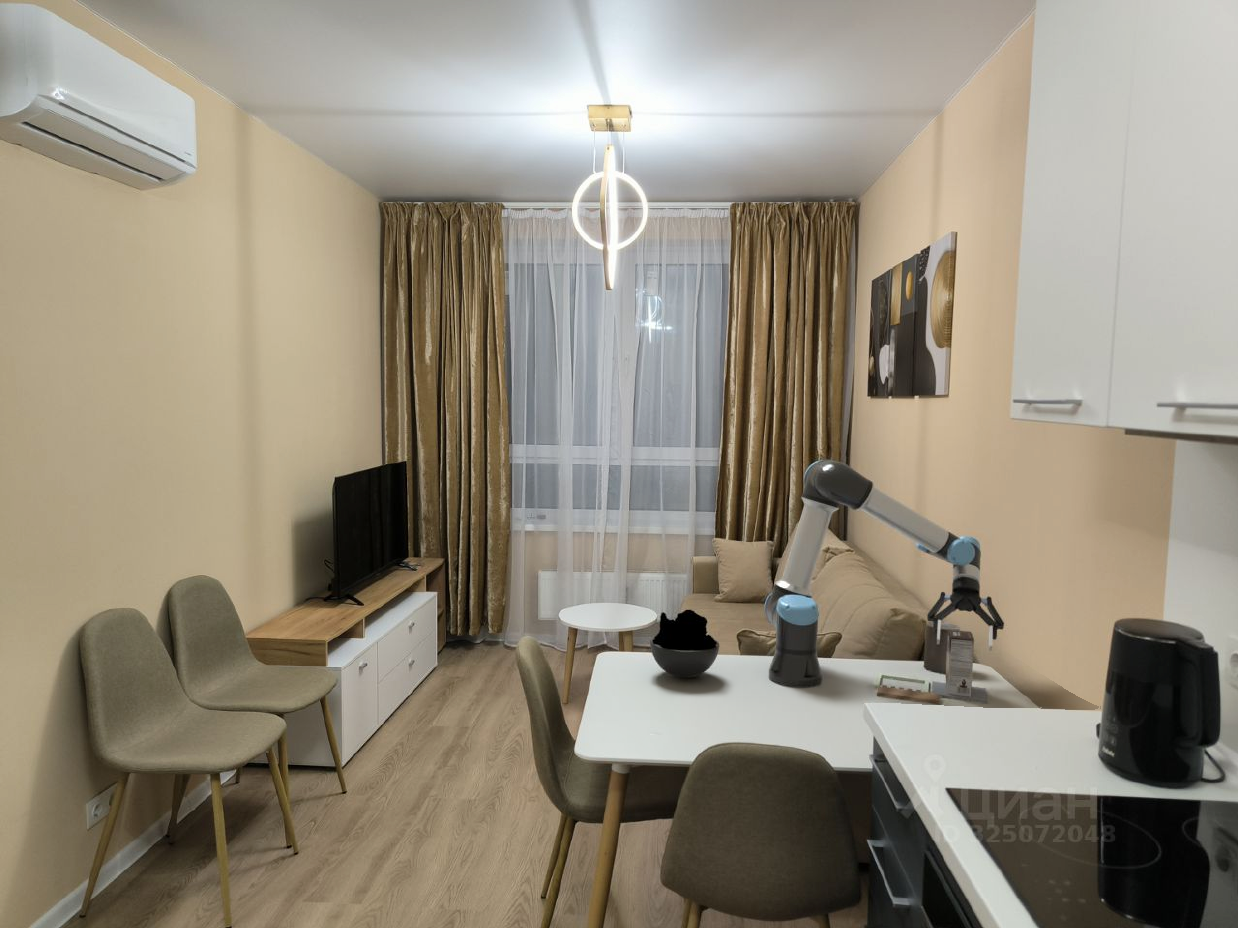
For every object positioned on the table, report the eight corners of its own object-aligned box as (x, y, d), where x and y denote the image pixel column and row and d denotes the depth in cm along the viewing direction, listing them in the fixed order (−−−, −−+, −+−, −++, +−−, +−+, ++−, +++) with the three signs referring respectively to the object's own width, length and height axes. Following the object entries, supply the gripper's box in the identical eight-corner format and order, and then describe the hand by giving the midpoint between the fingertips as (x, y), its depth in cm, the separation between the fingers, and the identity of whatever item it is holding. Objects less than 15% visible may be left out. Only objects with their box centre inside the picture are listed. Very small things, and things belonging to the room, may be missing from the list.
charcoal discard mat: (931, 695, 221) (932, 693, 221) (932, 683, 232) (932, 681, 232) (987, 703, 216) (987, 701, 216) (985, 690, 227) (985, 688, 227)
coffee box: (944, 684, 230) (947, 628, 229) (968, 687, 228) (971, 631, 227) (947, 694, 221) (949, 636, 220) (972, 697, 219) (975, 639, 218)
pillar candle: (919, 669, 246) (922, 621, 245) (927, 662, 254) (930, 615, 253) (953, 676, 240) (956, 626, 239) (960, 668, 248) (963, 620, 247)
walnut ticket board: (876, 695, 220) (876, 692, 220) (878, 689, 225) (878, 685, 225) (939, 704, 214) (939, 700, 214) (939, 697, 219) (939, 694, 219)
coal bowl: (722, 669, 240) (724, 607, 239) (712, 690, 221) (715, 622, 220) (657, 663, 245) (659, 602, 244) (642, 682, 226) (643, 616, 225)
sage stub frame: (875, 687, 227) (875, 684, 227) (878, 675, 238) (878, 673, 238) (928, 695, 222) (928, 692, 221) (928, 682, 233) (928, 679, 233)
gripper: (1011, 594, 237) (1012, 657, 224) (921, 585, 247) (917, 645, 234) (1013, 579, 232) (1014, 643, 219) (921, 571, 242) (917, 632, 228)
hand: (964, 645), depth 226 cm, fingers open, 13 cm apart
